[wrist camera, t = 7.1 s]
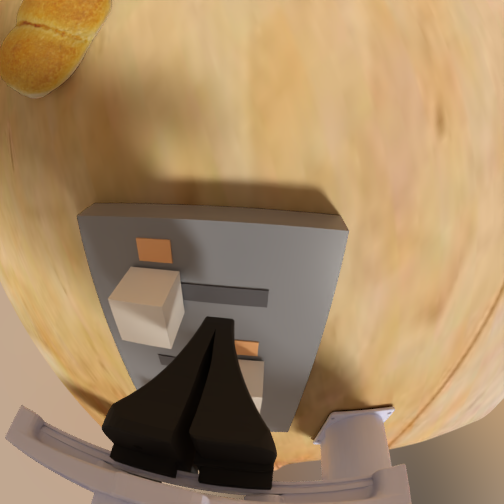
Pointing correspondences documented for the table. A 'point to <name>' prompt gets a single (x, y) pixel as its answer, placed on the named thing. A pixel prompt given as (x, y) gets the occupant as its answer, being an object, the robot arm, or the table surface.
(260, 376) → the slider middle
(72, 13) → the bread roll
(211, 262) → the switch panel
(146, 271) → the block
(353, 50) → the table surface
